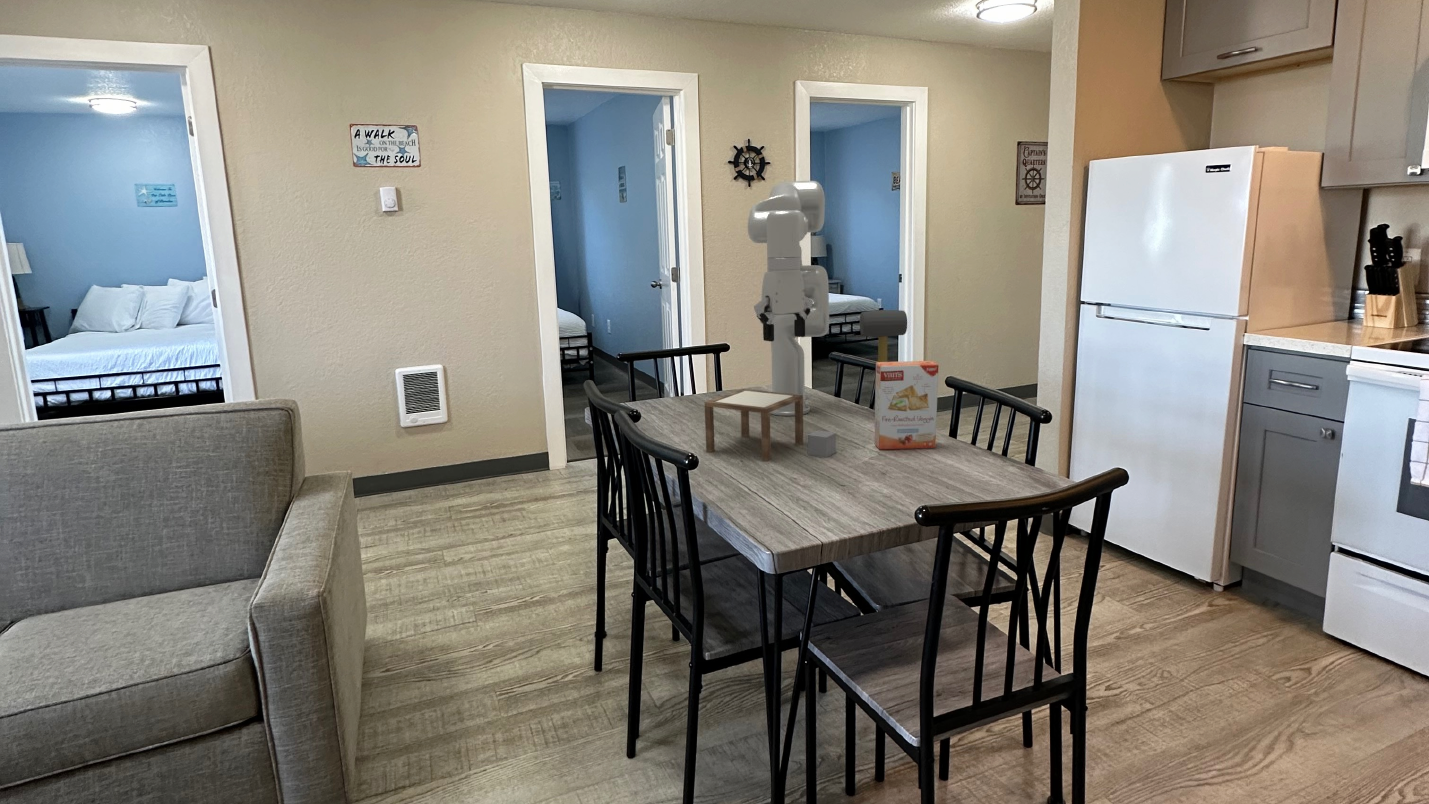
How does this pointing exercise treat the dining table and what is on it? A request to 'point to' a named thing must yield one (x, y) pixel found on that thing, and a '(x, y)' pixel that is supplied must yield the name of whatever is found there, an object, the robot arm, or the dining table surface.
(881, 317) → the rubber mallet
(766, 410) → the frame
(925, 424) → the cracker box
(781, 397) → the trapdoor
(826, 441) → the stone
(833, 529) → the dining table surface
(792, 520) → the dining table surface
